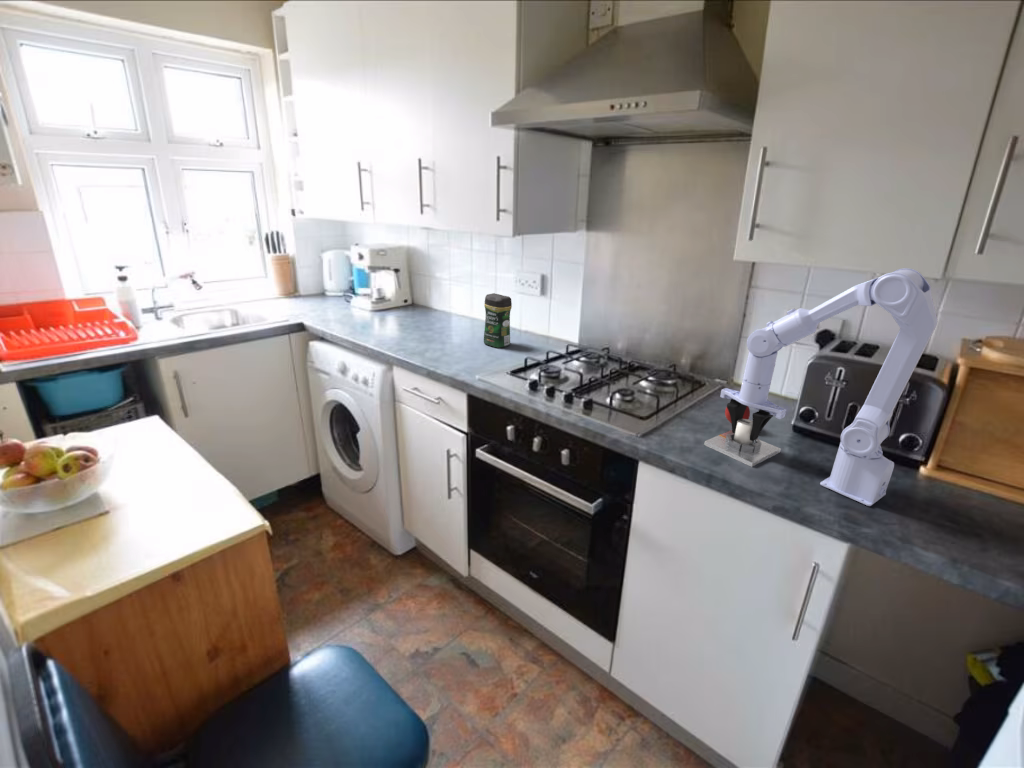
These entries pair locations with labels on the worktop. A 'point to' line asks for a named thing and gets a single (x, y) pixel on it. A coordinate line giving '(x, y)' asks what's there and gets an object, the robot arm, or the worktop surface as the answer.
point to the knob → (743, 431)
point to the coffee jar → (497, 320)
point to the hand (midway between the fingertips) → (744, 435)
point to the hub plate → (742, 455)
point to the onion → (746, 416)
